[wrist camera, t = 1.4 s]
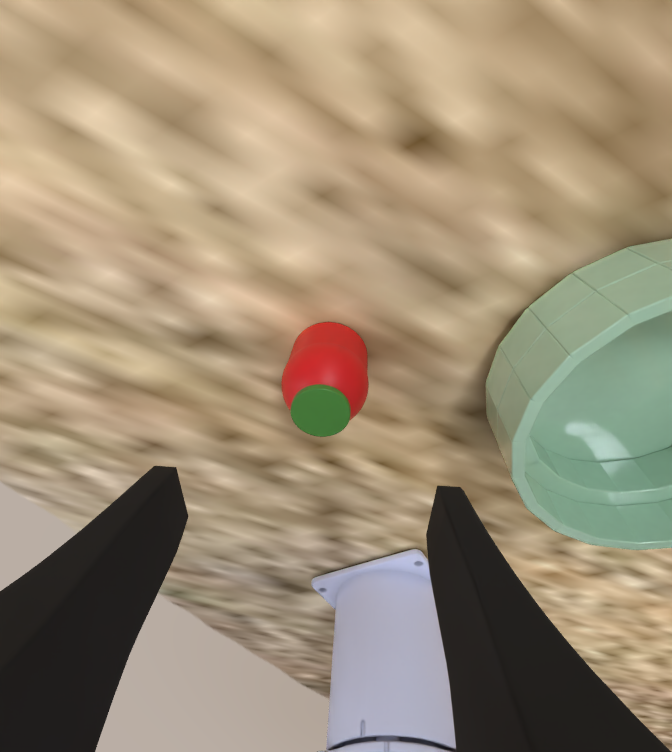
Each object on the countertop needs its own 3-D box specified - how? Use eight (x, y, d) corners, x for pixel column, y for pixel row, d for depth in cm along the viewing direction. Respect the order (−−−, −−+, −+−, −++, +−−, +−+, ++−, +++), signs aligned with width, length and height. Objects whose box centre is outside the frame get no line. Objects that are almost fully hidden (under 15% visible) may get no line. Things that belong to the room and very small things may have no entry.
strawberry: (382, 369, 19) (385, 429, 15) (317, 398, 20) (305, 461, 16) (344, 306, 17) (337, 357, 13) (276, 342, 18) (253, 397, 15)
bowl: (792, 420, 19) (901, 496, 15) (527, 499, 22) (560, 576, 19) (782, 166, 13) (946, 183, 10) (441, 325, 17) (462, 382, 13)
